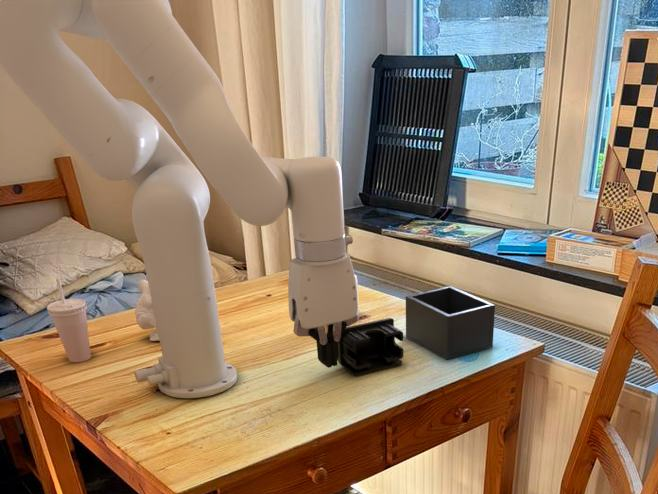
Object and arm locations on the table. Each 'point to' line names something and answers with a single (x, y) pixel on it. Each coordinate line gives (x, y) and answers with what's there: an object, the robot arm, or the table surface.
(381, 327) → the end cap
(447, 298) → the box
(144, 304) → the koala figurine
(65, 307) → the smoothie
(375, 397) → the table surface
